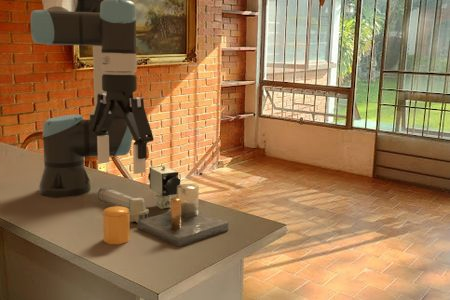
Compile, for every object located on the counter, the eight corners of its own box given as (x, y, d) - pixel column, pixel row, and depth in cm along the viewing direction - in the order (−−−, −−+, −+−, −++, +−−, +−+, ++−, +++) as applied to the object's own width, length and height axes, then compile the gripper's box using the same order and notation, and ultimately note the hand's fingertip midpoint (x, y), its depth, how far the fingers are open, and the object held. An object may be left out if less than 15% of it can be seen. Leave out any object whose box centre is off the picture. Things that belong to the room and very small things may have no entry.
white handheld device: (111, 185, 146) (151, 194, 126) (113, 208, 147) (153, 220, 127) (94, 188, 143) (133, 198, 123) (96, 211, 144) (135, 224, 124)
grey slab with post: (137, 228, 123) (137, 192, 121) (186, 214, 134) (186, 181, 132) (179, 246, 112) (179, 207, 110) (228, 229, 123) (229, 194, 121)
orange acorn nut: (99, 239, 115) (99, 209, 113) (120, 233, 119) (119, 204, 117) (113, 246, 111) (112, 215, 110) (133, 239, 115) (133, 210, 113)
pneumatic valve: (165, 214, 134) (165, 171, 131) (147, 202, 143) (147, 162, 141) (183, 211, 137) (183, 169, 134) (164, 200, 146) (164, 160, 144)
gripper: (73, 71, 114) (76, 161, 118) (141, 76, 97) (142, 180, 101) (101, 71, 119) (103, 156, 123) (169, 75, 103) (169, 174, 107)
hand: (120, 167), depth 112 cm, fingers open, 13 cm apart
